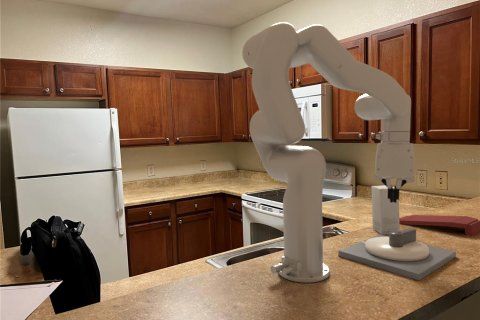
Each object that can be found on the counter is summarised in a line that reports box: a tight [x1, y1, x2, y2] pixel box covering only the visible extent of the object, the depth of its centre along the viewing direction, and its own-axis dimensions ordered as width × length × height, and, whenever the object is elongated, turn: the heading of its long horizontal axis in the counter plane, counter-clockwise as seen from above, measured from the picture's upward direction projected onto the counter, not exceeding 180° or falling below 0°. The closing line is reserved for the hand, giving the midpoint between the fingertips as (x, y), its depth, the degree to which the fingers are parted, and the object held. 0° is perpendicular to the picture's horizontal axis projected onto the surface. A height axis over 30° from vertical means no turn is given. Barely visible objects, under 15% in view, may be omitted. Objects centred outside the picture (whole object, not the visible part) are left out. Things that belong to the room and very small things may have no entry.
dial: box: [365, 227, 429, 261], centre depth 94 cm, size 16×16×5 cm
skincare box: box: [371, 184, 401, 236], centre depth 117 cm, size 8×7×16 cm
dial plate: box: [338, 233, 457, 281], centre depth 94 cm, size 22×22×2 cm
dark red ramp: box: [399, 214, 480, 237], centre depth 122 cm, size 12×5×25 cm
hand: (393, 201), depth 99 cm, fingers closed
